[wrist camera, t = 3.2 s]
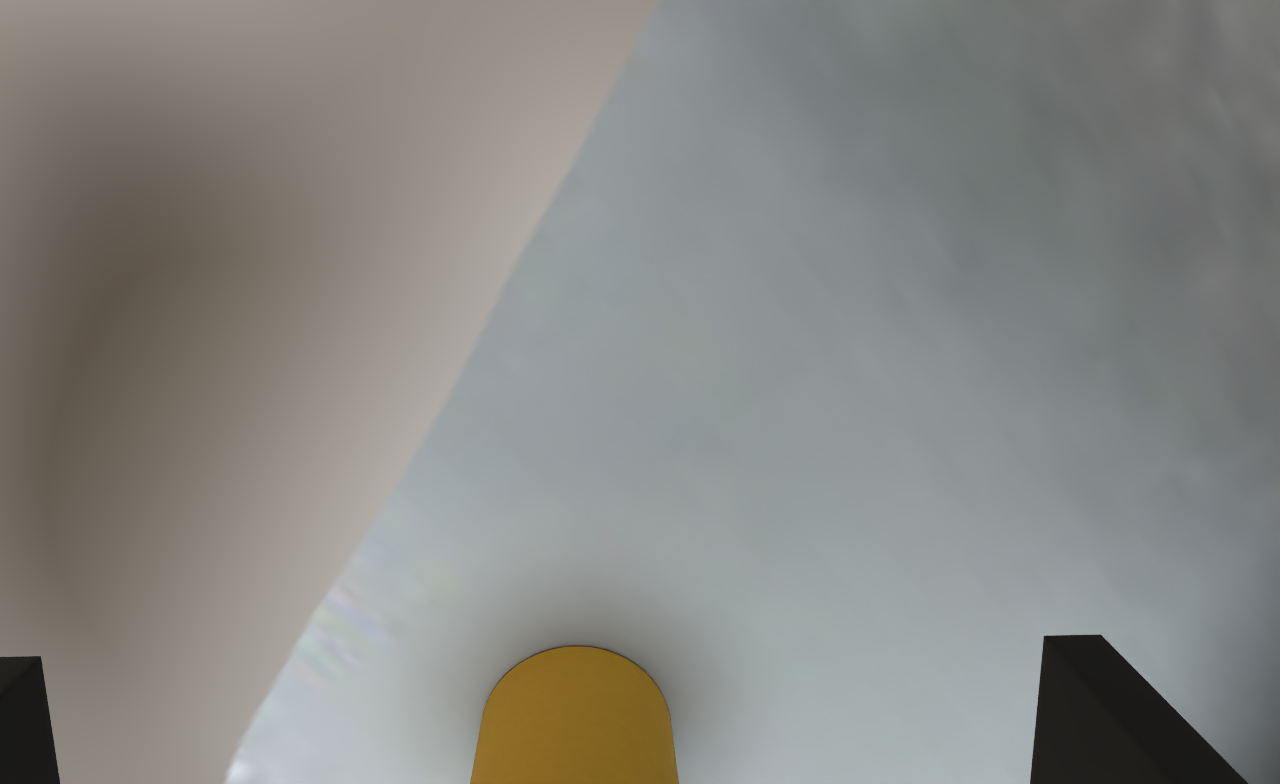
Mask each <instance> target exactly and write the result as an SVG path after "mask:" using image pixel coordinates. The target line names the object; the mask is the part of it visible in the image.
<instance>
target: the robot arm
mask: <svg viewBox="0 0 1280 784" xmlns="http://www.w3.org/2000/svg"><path fill="white" fill-rule="evenodd" d="M0 784H60V780H59V773H58V767H57V760H56V753H55V747H54V740H53V734H52V727H51V720H50V714H49V707H48V701H47V694H46V688H45V681H44V675H43V668H42V661H41V656H32V657H0ZM1030 784H1248V783H1247V782H1246V781H1245V780H1244V779H1243V778H1242V777H1241V776H1240V775H1239V774H1238V773H1237V772H1236V771H1235V770H1234V769H1233V768H1232V767H1231V766H1230V765H1229V764H1228V763H1227V762H1226V761H1225V760H1224V759H1223V758H1222V757H1221V756H1220V755H1219V754H1218V753H1217V752H1216V751H1215V750H1214V749H1213V747H1212V746H1211V745H1210V744H1209V743H1208V742H1207V741H1206V740H1205V739H1204V738H1203V737H1202V736H1201V735H1200V734H1199V733H1198V732H1197V731H1196V730H1195V729H1194V728H1193V727H1192V726H1191V725H1190V724H1189V723H1188V722H1187V721H1186V720H1185V719H1184V718H1183V717H1182V716H1181V715H1180V714H1179V713H1178V712H1177V711H1176V710H1175V709H1174V708H1173V707H1172V706H1171V705H1170V704H1169V703H1168V702H1167V701H1166V700H1165V699H1164V698H1163V697H1162V696H1161V695H1160V694H1159V693H1158V692H1157V691H1156V690H1155V689H1154V688H1153V687H1152V686H1151V685H1150V684H1149V683H1148V682H1147V681H1146V680H1145V679H1144V678H1143V677H1142V676H1141V675H1140V674H1139V673H1138V672H1137V671H1136V670H1135V669H1134V668H1133V667H1132V666H1131V665H1130V664H1129V663H1128V662H1127V661H1126V660H1125V659H1124V658H1123V657H1122V656H1121V655H1120V654H1119V653H1118V652H1117V651H1116V650H1115V649H1114V648H1113V647H1112V646H1111V645H1110V644H1109V643H1108V642H1107V641H1106V640H1105V639H1104V638H1103V637H1102V635H1062V636H1044V642H1043V653H1042V663H1041V674H1040V684H1039V695H1038V706H1037V716H1036V727H1035V738H1034V748H1033V759H1032V770H1031V780H1030Z"/></svg>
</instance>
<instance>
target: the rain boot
mask: <svg viewBox="0 0 1280 784" xmlns="http://www.w3.org/2000/svg"><path fill="white" fill-rule="evenodd" d="M470 784H679V781H678V774H677V766H676V758H675V751H674V743H673V735H672V728H671V720H670V715H669V711H668V707H667V705H666V702H665V699H664V697H663V695H662V693H661V692H660V690H659V688H658V687H657V685H656V684H655V683H654V681H653V680H652V679H651V678H650V677H649V676H648V675H647V674H646V673H645V672H644V671H643V670H642V669H641V668H639V667H638V666H637V665H636V664H634V663H633V662H631V661H629V660H627V659H626V658H624V657H622V656H620V655H617V654H615V653H613V652H609V651H606V650H603V649H598V648H592V647H580V646H573V647H562V648H556V649H551V650H548V651H545V652H542V653H539V654H537V655H534V656H532V657H530V658H528V659H526V660H525V661H523V662H521V663H520V664H518V665H517V666H515V667H514V668H513V669H512V670H510V671H509V672H508V673H507V674H506V675H505V676H504V677H503V678H502V679H501V680H500V681H499V683H498V684H497V685H496V687H495V688H494V690H493V691H492V693H491V695H490V697H489V699H488V701H487V703H486V706H485V709H484V712H483V716H482V721H481V727H480V732H479V738H478V743H477V749H476V754H475V760H474V765H473V771H472V776H471V782H470Z"/></svg>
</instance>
